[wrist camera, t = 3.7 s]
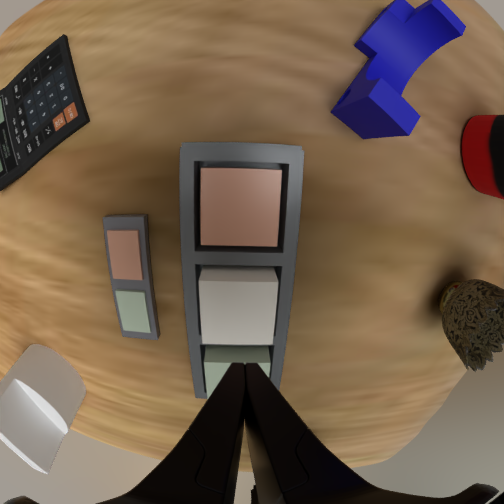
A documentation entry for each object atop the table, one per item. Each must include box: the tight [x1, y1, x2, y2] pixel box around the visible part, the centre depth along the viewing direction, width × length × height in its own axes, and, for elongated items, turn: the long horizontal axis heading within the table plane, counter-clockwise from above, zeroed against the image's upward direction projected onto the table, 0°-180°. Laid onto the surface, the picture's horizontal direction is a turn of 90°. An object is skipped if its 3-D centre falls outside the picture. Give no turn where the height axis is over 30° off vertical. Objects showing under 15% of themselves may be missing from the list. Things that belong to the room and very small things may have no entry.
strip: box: [103, 214, 160, 340], centre depth 19 cm, size 10×3×1 cm, turn 178°
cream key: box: [199, 265, 278, 345], centre depth 17 cm, size 4×4×2 cm
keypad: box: [180, 142, 304, 399], centre depth 18 cm, size 20×8×3 cm, turn 178°
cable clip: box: [331, 0, 466, 139], centre depth 12 cm, size 12×4×6 cm, turn 146°
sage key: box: [204, 345, 271, 398], centre depth 19 cm, size 4×4×2 cm
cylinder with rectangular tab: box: [0, 344, 86, 474], centre depth 17 cm, size 9×9×12 cm
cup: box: [438, 279, 504, 371], centre depth 18 cm, size 8×7×8 cm
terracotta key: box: [201, 167, 282, 247], centre depth 16 cm, size 4×4×2 cm
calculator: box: [0, 34, 90, 191], centre depth 13 cm, size 9×12×3 cm
